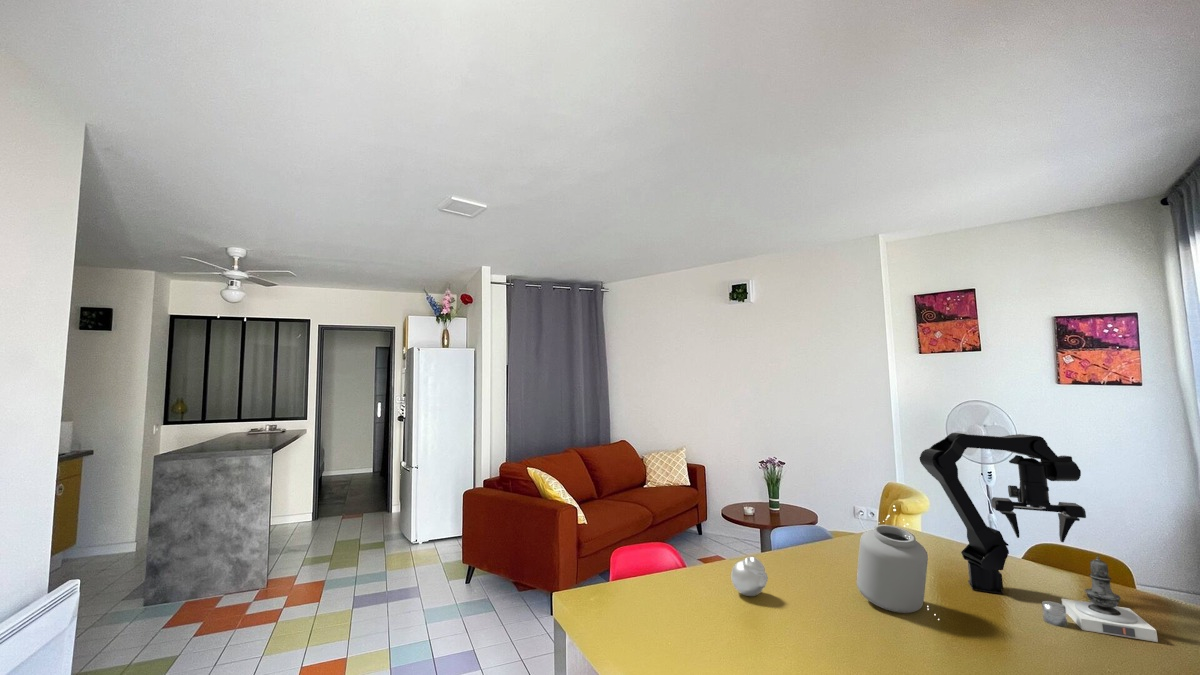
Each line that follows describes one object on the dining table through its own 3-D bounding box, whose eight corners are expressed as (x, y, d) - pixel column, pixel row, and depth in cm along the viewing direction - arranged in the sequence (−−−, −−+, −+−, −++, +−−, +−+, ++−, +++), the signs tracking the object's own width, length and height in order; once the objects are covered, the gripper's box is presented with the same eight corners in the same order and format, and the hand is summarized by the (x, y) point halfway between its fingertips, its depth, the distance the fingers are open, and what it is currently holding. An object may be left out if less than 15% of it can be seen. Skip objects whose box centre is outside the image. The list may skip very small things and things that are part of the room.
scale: (1083, 631, 109) (1081, 616, 109) (1062, 608, 120) (1061, 596, 120) (1159, 643, 103) (1157, 628, 103) (1130, 618, 114) (1128, 605, 114)
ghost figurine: (748, 605, 123) (747, 564, 125) (725, 591, 132) (723, 553, 133) (776, 598, 127) (774, 558, 128) (751, 586, 136) (749, 548, 137)
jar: (955, 621, 114) (945, 511, 117) (900, 627, 111) (892, 514, 114) (893, 589, 132) (886, 495, 135) (845, 594, 129) (838, 497, 132)
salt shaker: (1121, 618, 108) (1114, 562, 109) (1084, 609, 113) (1078, 555, 114) (1124, 611, 112) (1117, 556, 113) (1088, 602, 116) (1082, 550, 118)
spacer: (1047, 624, 112) (1045, 606, 112) (1041, 617, 115) (1039, 599, 116) (1070, 628, 110) (1068, 609, 111) (1063, 620, 114) (1061, 602, 114)
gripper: (1067, 478, 137) (1074, 536, 135) (984, 474, 146) (989, 528, 144) (1083, 485, 127) (1090, 547, 126) (993, 480, 136) (999, 538, 134)
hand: (1039, 539), depth 133 cm, fingers open, 9 cm apart
